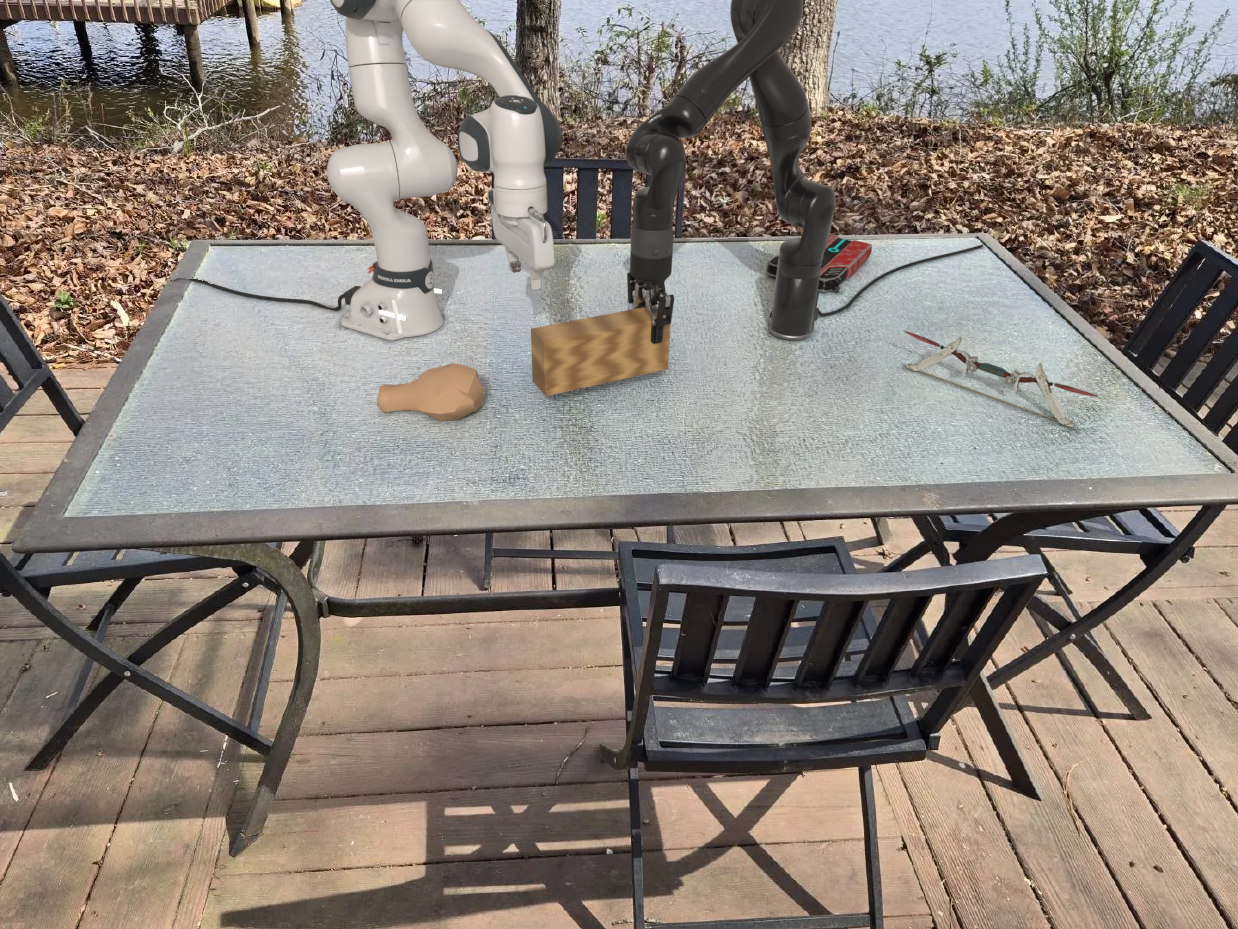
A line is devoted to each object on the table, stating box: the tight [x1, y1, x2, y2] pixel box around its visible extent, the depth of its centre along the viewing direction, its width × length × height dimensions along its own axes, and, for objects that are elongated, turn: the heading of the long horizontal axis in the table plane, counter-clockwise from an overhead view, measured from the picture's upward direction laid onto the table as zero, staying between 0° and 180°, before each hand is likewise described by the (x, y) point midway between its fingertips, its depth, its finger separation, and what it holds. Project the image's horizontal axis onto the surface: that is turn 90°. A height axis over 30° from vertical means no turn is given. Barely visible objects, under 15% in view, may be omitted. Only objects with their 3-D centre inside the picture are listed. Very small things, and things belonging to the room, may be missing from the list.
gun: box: [765, 233, 873, 293], centre depth 228 cm, size 4×31×19 cm
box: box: [530, 305, 672, 397], centre depth 162 cm, size 25×6×11 cm, turn 117°
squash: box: [376, 362, 485, 422], centre depth 161 cm, size 11×20×9 cm, turn 90°
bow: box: [903, 330, 1099, 428], centre depth 171 cm, size 39×2×10 cm, turn 47°
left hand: (525, 279), depth 155 cm, fingers open, 8 cm apart
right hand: (647, 334), depth 165 cm, fingers closed on box, 6 cm apart
